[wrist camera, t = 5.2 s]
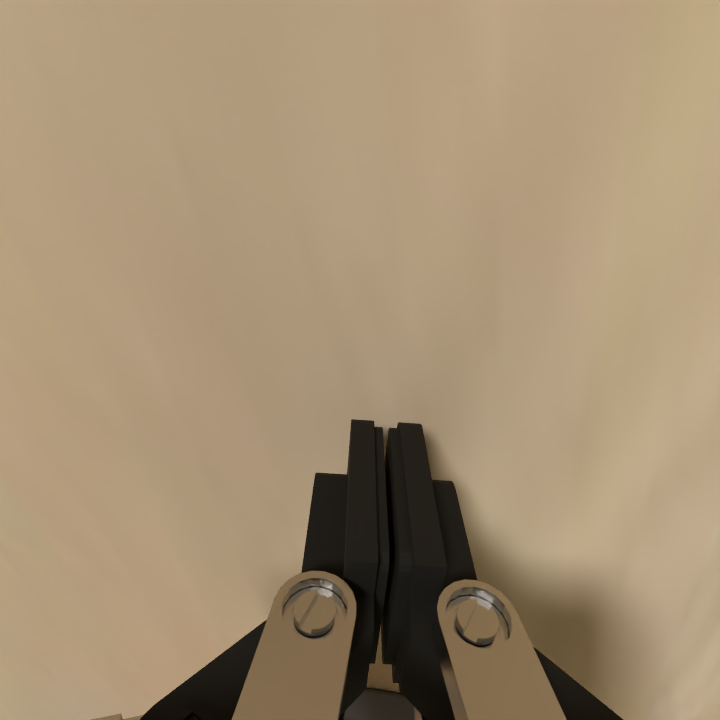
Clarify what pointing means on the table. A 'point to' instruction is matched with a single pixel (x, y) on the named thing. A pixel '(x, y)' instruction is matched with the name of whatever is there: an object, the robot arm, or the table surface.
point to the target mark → (380, 706)
